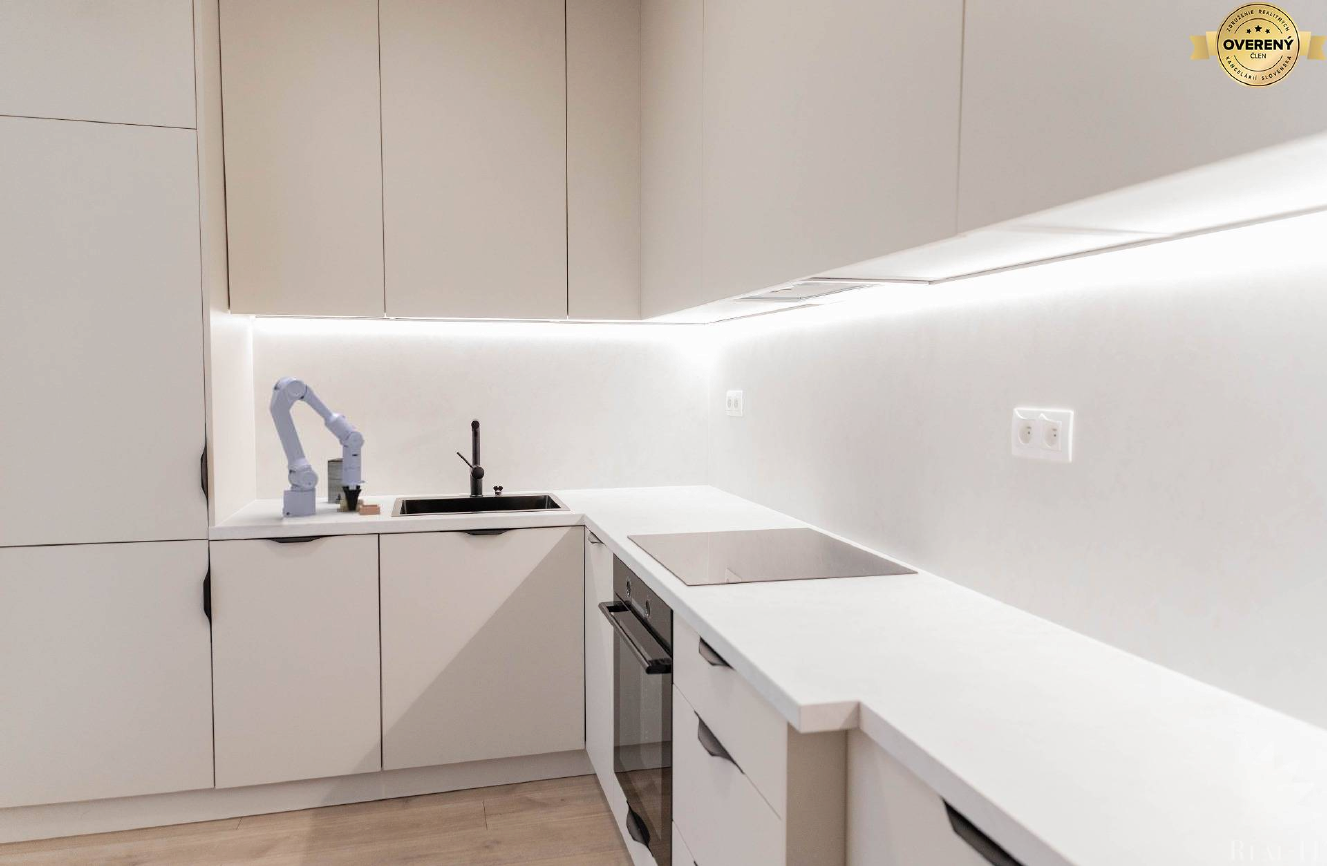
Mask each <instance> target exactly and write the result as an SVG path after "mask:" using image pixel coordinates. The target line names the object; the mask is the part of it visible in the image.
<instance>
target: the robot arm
mask: <svg viewBox="0 0 1327 866" xmlns="http://www.w3.org/2000/svg"><path fill="white" fill-rule="evenodd" d="M271 395H272V396H271V399H270V403H269V411H270V415H271V418H272V419H273V422H274V426H275V428H276V431H277V434H278V437H279V439H280V442H281V445H282V448H283V451H284V455H285V457H286V459H287V467H286V468H287V471H288V474H287V479H288V482H289V484H290V485H291V486H290V489H289V490H283V507H282V515H283V517H307V516H314V515H316V513H317V509H316V508H317V507H316V501H317V500H316V494H317V493H316V486H317V485H318V482H319V476H318V473H317V472H316V471H314V470H313V468H312V465H311V464H310V462H309V461H308V459H307V458H306V455H305V453H304V449H303V446H302V444H301V441H300V439H299V434H298V433H297V430H296V427H295V424H294V421H293V418H292V415H291V411H290V410H291V409H292V407H293V406H294V404H295V403H296V402H297V401H301V402H304V403H306V404H307V405H308V406H310V408H312V409H313V410H314V411H315V412H316V413H317V414H318V415H319V416H320V417H321V418H322V419H323V420H324V421H323V422H324V426H325V428H327V430H328V431H330V432H331V433H332V434H333V435H334V436H335V437H336V439H338V441H339V444H340V445H341V446H342V457H341V458H342V467H343V468H342V484H345V485H348V486H342V488H343V491H344V493H345V495H346V500H347V505H348V509H349V510H356V506H357V501H358V499H359V497H360V494H361V492H362V490H363V489H362V488H361V487H362V486H361V484H365V483H366V480H365V479H363V480H362V447H363V446H364V443H365V439H364V438H363V435H362V433H361V432H359V431H356V430H355V429H356V428H355V427H354V426H353V425H351V424H350V423H349V422H348V421H347V420H346V419H345V418H346V416H345V415H344V414H340V413H338V412H333V411H332V410H331V409H330V408H329V407H328V406H327V405H326V403H325V402H323V400H322V399H321V398H320V397H319V396H318V395H317V393H315V391H314V390H313V389H312V388H311V386H309V385H308V384H306V383H305V382H304V381H303V379H301V378H298V377H282V378H280V379H278V380H277V382H276V383H275V384H274V385H273V387H272V394H271Z"/></svg>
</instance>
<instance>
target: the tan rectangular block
mask: <svg viewBox="0 0 1327 866" xmlns="http://www.w3.org/2000/svg"><path fill="white" fill-rule="evenodd" d="M359 505H365V503H364V499H363V498H358V501H357V506H356V510H349V509H348V505H347V500H340V504H339V509H340V511H353V512H359Z"/></svg>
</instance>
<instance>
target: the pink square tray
mask: <svg viewBox="0 0 1327 866" xmlns="http://www.w3.org/2000/svg"><path fill="white" fill-rule="evenodd" d="M358 513H359V515H360V516H372V515H374V516H375V515H381V506H380V504H378V503H377V504H376V503H375V504H364V505H359V511H358Z"/></svg>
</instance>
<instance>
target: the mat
mask: <svg viewBox="0 0 1327 866" xmlns="http://www.w3.org/2000/svg"><path fill="white" fill-rule="evenodd" d="M336 511H337V513H349V512H351V513H352V512H354V511H340V508H336Z"/></svg>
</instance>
